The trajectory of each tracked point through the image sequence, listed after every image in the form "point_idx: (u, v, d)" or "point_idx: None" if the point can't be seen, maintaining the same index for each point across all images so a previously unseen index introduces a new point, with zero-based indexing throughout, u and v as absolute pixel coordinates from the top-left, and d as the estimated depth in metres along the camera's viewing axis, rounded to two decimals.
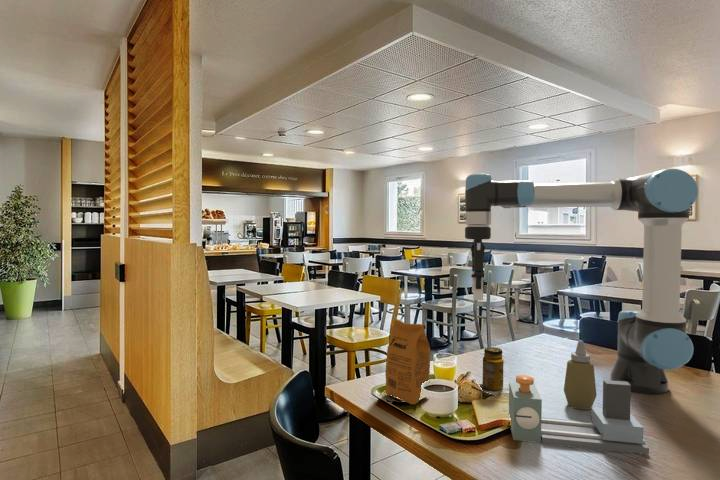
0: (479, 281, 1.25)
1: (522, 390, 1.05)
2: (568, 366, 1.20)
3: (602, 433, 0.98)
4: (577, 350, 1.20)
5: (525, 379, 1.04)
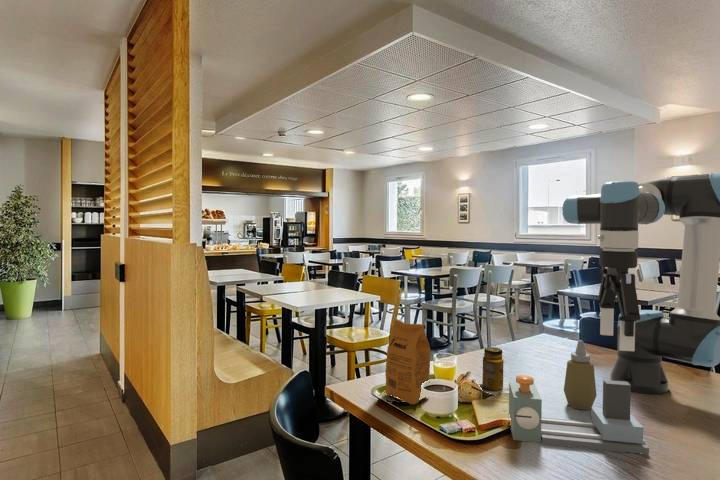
0: (631, 326, 0.93)
1: (522, 390, 1.05)
2: (568, 366, 1.20)
3: (602, 433, 0.98)
4: (577, 350, 1.20)
5: (525, 379, 1.04)
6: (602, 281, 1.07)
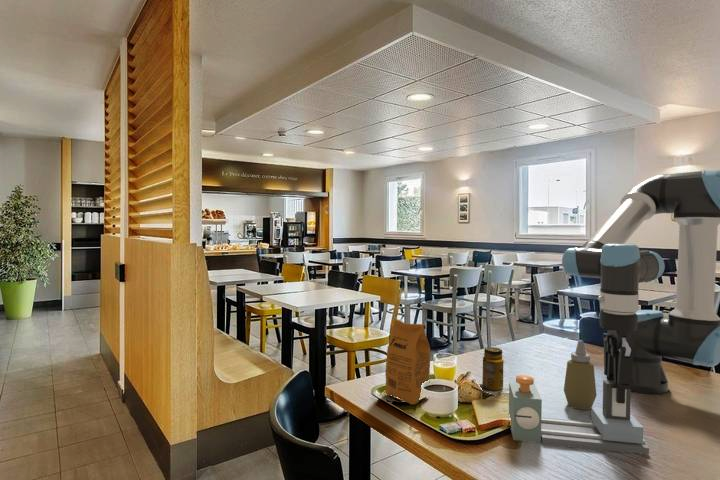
0: (622, 394, 0.98)
1: (522, 390, 1.05)
2: (568, 366, 1.20)
3: (602, 433, 0.98)
4: (577, 350, 1.20)
5: (525, 379, 1.04)
6: (604, 347, 1.06)
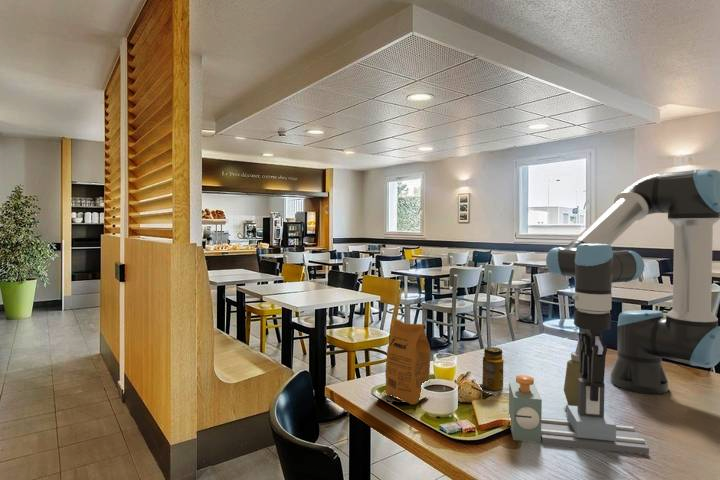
0: (596, 392, 0.99)
1: (522, 390, 1.05)
2: (568, 366, 1.20)
3: (576, 430, 1.00)
4: (577, 350, 1.20)
5: (525, 379, 1.04)
6: (580, 346, 1.07)
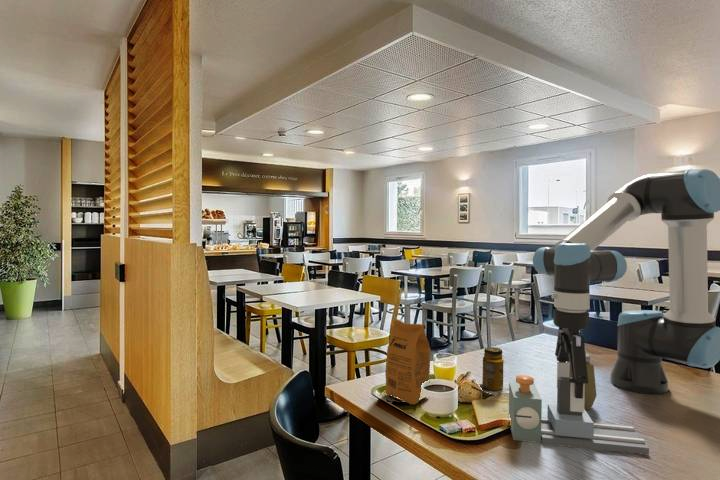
0: (580, 388, 0.95)
1: (522, 390, 1.05)
2: None
3: (554, 428, 1.01)
4: None
5: (525, 379, 1.04)
6: (558, 336, 1.10)
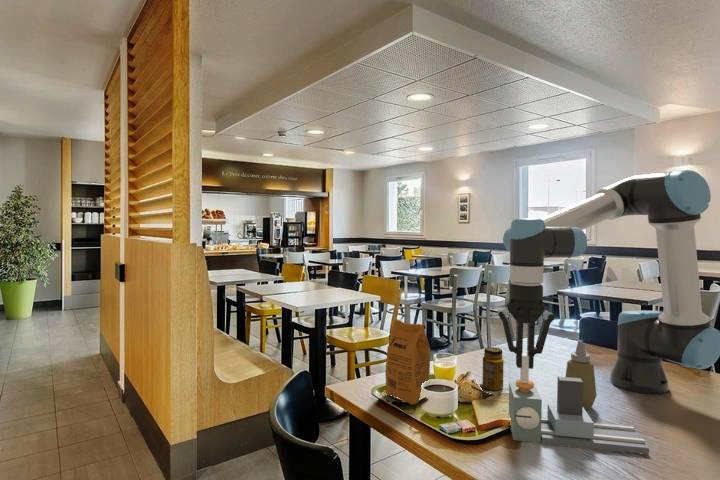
0: (516, 358, 1.05)
1: None
2: (568, 366, 1.20)
3: (554, 428, 1.01)
4: (577, 350, 1.20)
5: (525, 383, 1.04)
6: None
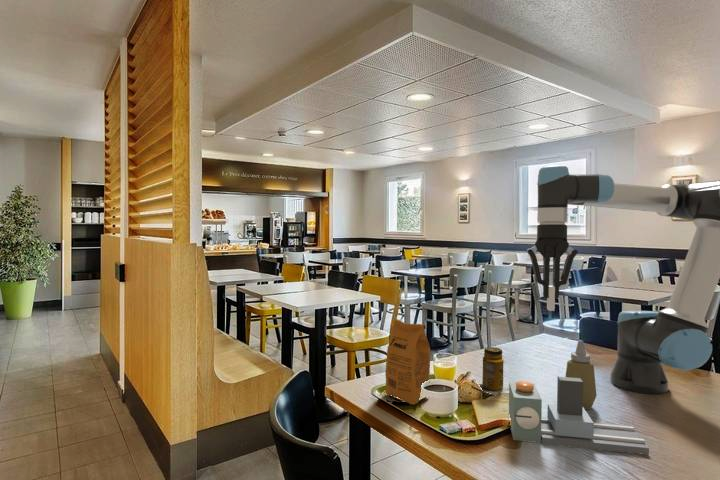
0: (543, 289, 1.20)
1: None
2: (568, 366, 1.20)
3: (554, 428, 1.01)
4: (577, 350, 1.20)
5: (525, 385, 1.04)
6: None
